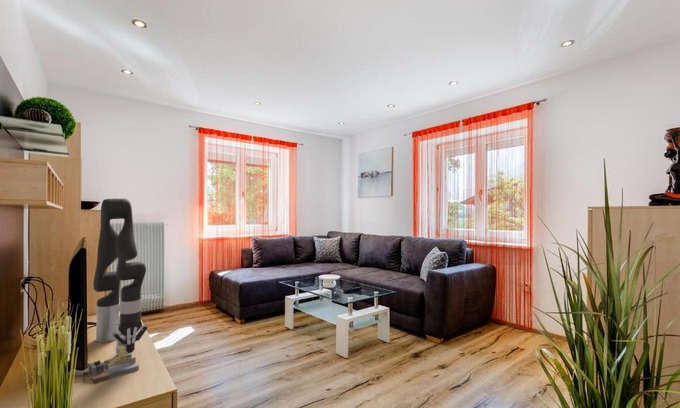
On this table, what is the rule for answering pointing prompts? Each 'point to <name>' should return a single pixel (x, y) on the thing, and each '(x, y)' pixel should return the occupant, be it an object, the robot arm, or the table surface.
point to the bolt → (119, 356)
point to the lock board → (111, 368)
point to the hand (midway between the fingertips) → (130, 352)
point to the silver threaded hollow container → (119, 344)
